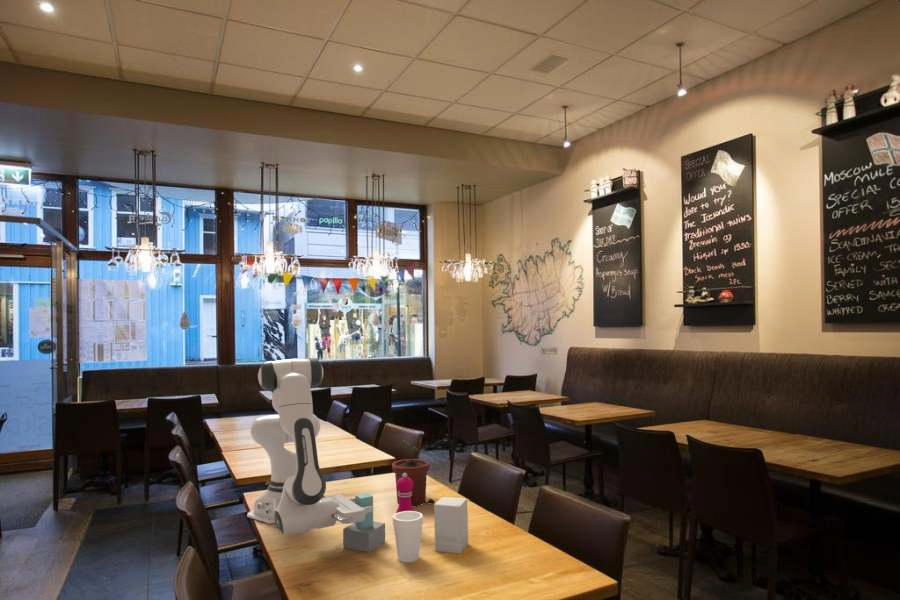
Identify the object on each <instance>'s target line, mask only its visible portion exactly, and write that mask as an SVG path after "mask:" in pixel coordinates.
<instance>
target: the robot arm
mask: <svg viewBox="0 0 900 600" xmlns="http://www.w3.org/2000/svg"><path fill="white" fill-rule="evenodd" d="M257 379H258V383H259V385H260V387H261V389H262V390H263V391H266V392H271V393H272V394H271V395H272V397H271V404H272V405H271V406H272V408H273V409H274V410H275V412H276V413H278V414H271V415H266V416H265V415H264V416H261V417H257V418H256V419H255V420H254V421H253V423H252V425H251V427H250V435H251V438H252V439H253V441H254V442H255V443H256V444H257V445H259V446H260V447H262V448H263V449H264V451H265V452H266V453H267V456H268V457H269V463H270V472H271V473H270V474H271V478H270V480H267V481H266V483H265V485H268V486H267V489H266V490H265V491H263V492H262V493H261V494H260V495H258V496H257V497H256V498H255V500H254V502H253V509H252V510H250V511H248V512H247V515H246V517H247V518H249V519H252V520H256V521H260V522H263V523H266V524H275V526H276V528H277V530H278V531H279V532H280V533H282V534H284V535H292V534H293V535H294V534H300V533H305V532H308V531H310V530H313V529H317V530H319V529H323V528H329V527H333V526H335V525H336V523H337V522H340V523H341V524H343V525H347V524H349V525H351V524H353V523H357V522H362V521H364V520H365V515H366V514H367V513H369V512H373V513H374V505H373V506H371V505H368V506H367V507H365V508H364V507H360V506H359V505H357V504H356V503H355V497H354V498H352V497H349V498H348V497H346V495H343V494H331V495H326V496H325V493H326V491H327V482H326V479H325V477H324V475H323V473H322V471H321V468H320V465H319V457H318V449H317V441H316V438H317V437H318V435H319V433H320V431H321V423H320V420H319V418H318V416H317V415H315V414H314V406H313V396H312V390H311V389H313V388H315V387H318V386H320V385H321V384H322V382H323V379H324V367H323V366H322V362H321V361H320V360H319V359H318V358H312V357H309V358H301V357H300V358H295V357H294V358H286V359H279V360H278V359H277V360H269V361H264V362H262V364H261V365H260V368H259V369H258V373H257ZM288 443H291V444H292V443H294V447H295V452H294V451H292V450H289V449H287V448H285V444H288Z"/></svg>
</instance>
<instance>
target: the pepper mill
mask: <svg viewBox="0 0 900 600" xmlns="http://www.w3.org/2000/svg"><path fill="white" fill-rule="evenodd" d="M396 486H397V489H398V490H399V491H398V496H399V505H398V507H397V509H396V512H395V514H396V513H398V512H403V511H415V510H414V507H412V505H411V495H412V491H411V489H412V488H413V481H412V480H411V479H410V478H408V477H407V474H406V473H403V475H402V478H400V479H399V480H398V481H397V485H396V484H395V487H396Z"/></svg>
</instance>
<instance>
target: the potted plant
mask: <svg viewBox="0 0 900 600" xmlns="http://www.w3.org/2000/svg"><path fill="white" fill-rule="evenodd" d="M402 442H403V443H404V444H405V446H406V447H408V448H409V453H410V455H409V456H410V458H408V459H400V460H397V461H394V462H392V463H391V468H392V472H393V473H394V475H395V476H394V477H395V489H396V503H398V504H399V496H398V491H399V490H398V489H397V486H396V485H397V481H398V480H399V479H400V478H402V475H403V473H406V474H407V477H408V478H410V479H411V480H412V481H413V488H412V489H411V491H412V495H411V505H412V506H416V507H419V506H418V505H420V506H422V505H421V504H423V503H426V497H427V473H428V472H429V471H430V466H431V463H430V461H429V460H426V459H420V458H412V452H413V451H419V448H417V447H416V446H413V447H412V448H411V446H410V442H408V441H406V440H404V439H403V440H402ZM427 502H428V503H434V502H435V500H434V499H432V498H430V499H429V500H428V501H427ZM428 503H427V504H428ZM434 504H435V503H434ZM423 505H424V504H423Z"/></svg>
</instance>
